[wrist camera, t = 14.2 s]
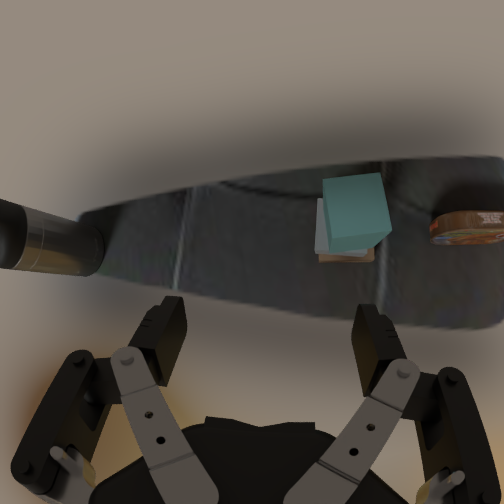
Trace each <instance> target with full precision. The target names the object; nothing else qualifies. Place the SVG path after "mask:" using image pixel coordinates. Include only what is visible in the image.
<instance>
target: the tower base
mask: <svg viewBox="0 0 504 504" xmlns="http://www.w3.org/2000/svg"><path fill="white" fill-rule="evenodd" d="M373 260H374V247H373V248H368V249H367V254H366V255H365V256H364V257H356V256H343V255H329V254H319V263H332V262H371V261H373Z"/></svg>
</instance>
